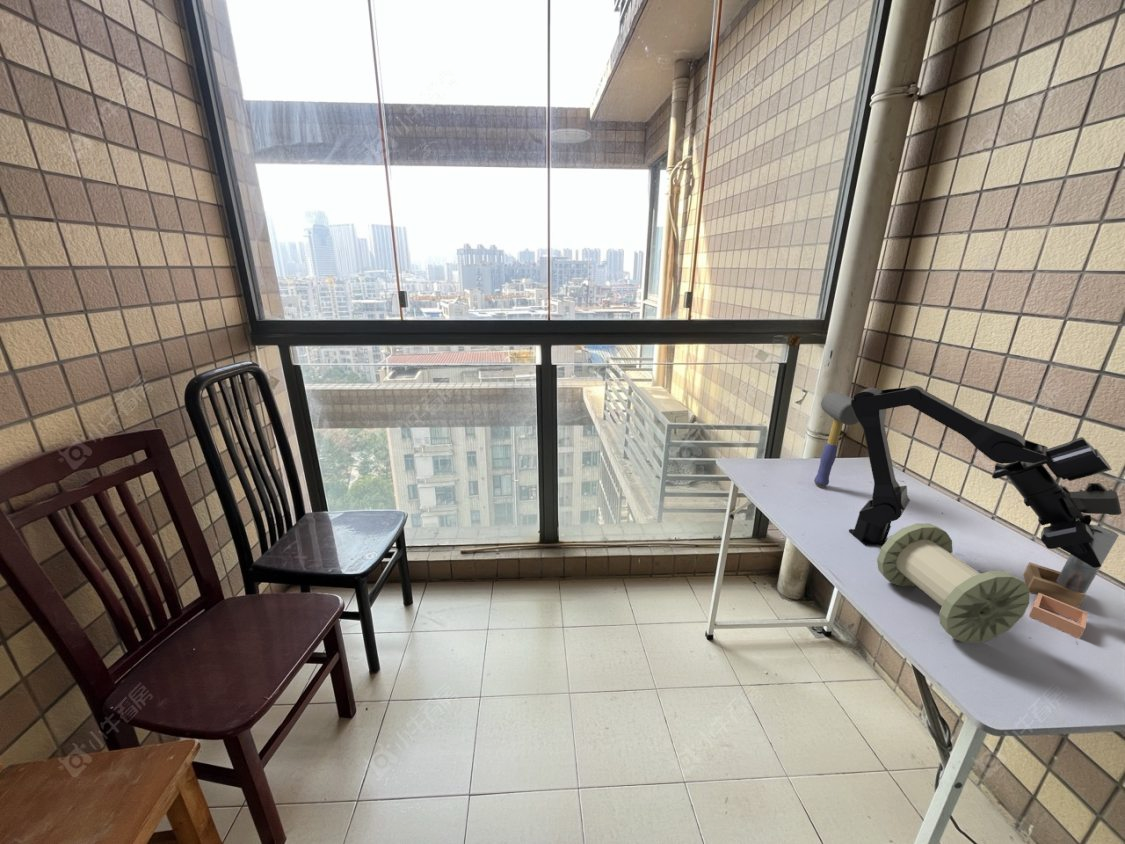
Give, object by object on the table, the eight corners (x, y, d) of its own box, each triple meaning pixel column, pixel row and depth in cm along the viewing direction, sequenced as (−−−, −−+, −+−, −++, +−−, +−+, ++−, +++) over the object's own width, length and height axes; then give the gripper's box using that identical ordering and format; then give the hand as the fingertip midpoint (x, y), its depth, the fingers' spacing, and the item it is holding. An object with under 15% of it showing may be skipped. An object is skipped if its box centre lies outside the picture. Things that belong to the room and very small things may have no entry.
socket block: (1028, 616, 86) (1033, 606, 86) (1033, 602, 90) (1038, 592, 90) (1079, 638, 81) (1085, 628, 81) (1082, 622, 85) (1087, 612, 85)
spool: (869, 581, 95) (889, 523, 89) (932, 580, 96) (955, 523, 91) (935, 643, 79) (964, 577, 74) (1009, 641, 80) (1043, 576, 75)
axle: (1067, 591, 84) (1099, 534, 79) (1050, 577, 87) (1079, 523, 83) (1092, 595, 83) (1125, 538, 79) (1074, 581, 87) (1104, 526, 82)
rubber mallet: (842, 496, 131) (870, 402, 120) (816, 494, 131) (842, 401, 121) (823, 478, 142) (847, 391, 132) (799, 476, 143) (821, 389, 133)
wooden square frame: (1027, 591, 93) (1034, 578, 92) (1022, 574, 99) (1029, 562, 98) (1077, 608, 89) (1085, 595, 88) (1070, 590, 94) (1077, 577, 93)
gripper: (1099, 489, 74) (1170, 574, 70) (1092, 460, 86) (1153, 532, 82) (1016, 509, 82) (1076, 587, 78) (1021, 480, 94) (1073, 547, 90)
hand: (1097, 562), depth 82 cm, fingers closed on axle, 4 cm apart
